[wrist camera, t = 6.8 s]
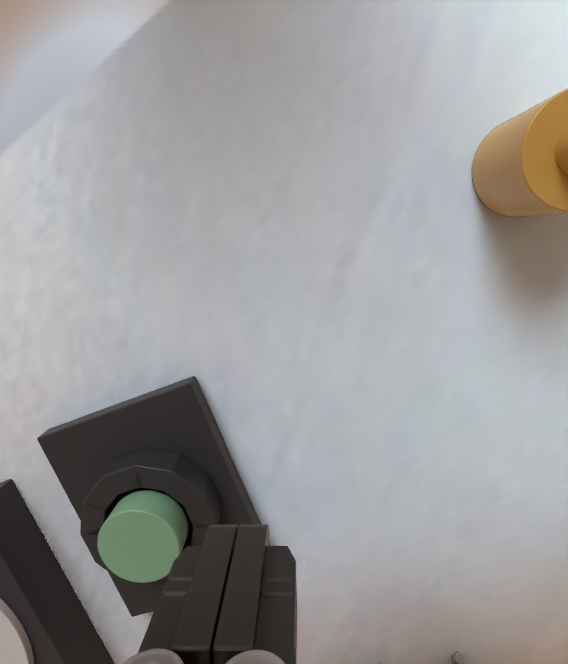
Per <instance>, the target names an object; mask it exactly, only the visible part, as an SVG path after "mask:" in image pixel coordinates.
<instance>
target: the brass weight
mask: <svg viewBox="0 0 568 664" xmlns="http://www.w3.org/2000/svg"><path fill="white" fill-rule="evenodd" d="M472 179H473V184H474V188H475V190H476V193H477V195H478V196H479V198H480V199H481V201H482V202H483V203H484V204H485V205H486V206H487V207H488V208H490V209H491V210H493V211H494V212H496V213H499V214H501V215H506V216H531V215H546V214H561V213H568V89H566V90H564V91H562V92H560V93H558V94H556V95H554V96H552V97H550V98H548V99H547V100H545V101H543V102H541V103H539V104H537V105H535V106H534V107H532V108H530V109H528V110H526V111H524V112H522V113H521V114H519V115H517V116H515V117H513V118H511V119H509V120H508V121H506V122H504V123H502V124H500V125H499V126H497V127H496V128H494V129H493V130H492V131H491V132H490V133H489V134H488V135H487V136H486V137H485V138H484V140H483V141H482V142H481V144H480V146H479V147H478V149H477V152H476V154H475V157H474V161H473V166H472Z"/></svg>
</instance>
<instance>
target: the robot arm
mask: <svg viewBox="0 0 568 664" xmlns="http://www.w3.org/2000/svg"><path fill="white" fill-rule="evenodd" d="M296 648H297V593H296V561H295V559H294V557H293V555H292V553H291V552H290V550H289V548H288V546H269V529H268V525H239V526H238V525H209V527H208V530H207V533H206V536H205V540H204V543H203V546H187V547H186V548H185V549H184V551H183V552H182V553H181V554H180V555H179V556H178V557H177V558H176V559H175V560H174V562H173V564H172V567H171V569H170V572H169V575H168V577H167V582H165V585H164V587H163V590H162V594H161V596H160V598H159V600H158V603H157V606H156V608H155V611H154V613H153V616H152V618H151V621H150V624H149V626H148V629H147V631H146V634H145V637H144V639H143V642H142V644H141V647H140V649H139V652H138V654H136V655H134V656H133V657H131V658H130V659H128V660H127V661H126V662H124V663H123V664H296Z"/></svg>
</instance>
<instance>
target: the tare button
mask: <svg viewBox="0 0 568 664" xmlns="http://www.w3.org/2000/svg"><path fill="white" fill-rule="evenodd" d="M187 535H188V521H187V517H186V515H185V513H184V511H183V509H182V508H181V507H180V505H179V504H178V503H177V502H176V501H175V500H173V499H172V498H171V497H169V496H167V495H165V494H163V493H160V492H156V491H150V490H143V491H137V492H133V493H131V494H129V495H127V496H125V497H124V498H122V499H121V500H120V501H119V502H118V503H117V505H116V506H115V508H114V509H113V511H112V512H111V514H110V515H109V517H108V518H107V520H106V521H105V523H104V524H103V525H102V527H101V529H100V531H99V534H98V551H99V554H100V557H101V559H102V561H103V562H104V564H105V565H106V566H107V568H108V569H110V570H111V571H112V572H113V573H114V574H116V575H117V576H119V577H121V578H123V579H125V580H128V581H132V582H137V583H148V582H153V581H157V580H159V579H161V578H163V577H165V576H166V575H168V574H169V572H170V569H171V567H172V564H173V562H174V560H175V559H176V558H177V557H178V556H179V555H180V554H181V552H182V549H183V546H184V544H185V541H186V538H187Z"/></svg>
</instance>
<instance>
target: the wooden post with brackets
mask: <svg viewBox="0 0 568 664" xmlns="http://www.w3.org/2000/svg"><path fill="white" fill-rule="evenodd" d="M452 660H453V664H467V663H466V662H465V661H464V659H463V658H462V657H461V656H460V655H459V654H458V653H457V652H456V654H455V655H452ZM379 664H380V663H379Z"/></svg>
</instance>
